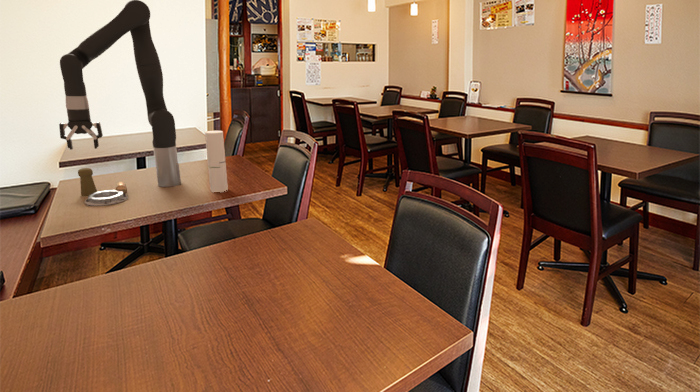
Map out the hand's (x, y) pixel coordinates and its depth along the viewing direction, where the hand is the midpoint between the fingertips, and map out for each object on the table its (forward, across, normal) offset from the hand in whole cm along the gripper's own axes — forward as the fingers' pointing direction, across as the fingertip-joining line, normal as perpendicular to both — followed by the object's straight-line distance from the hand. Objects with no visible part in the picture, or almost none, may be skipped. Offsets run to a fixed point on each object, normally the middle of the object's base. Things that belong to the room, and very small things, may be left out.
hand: (83, 148), depth 174 cm
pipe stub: (+19, -12, +2) cm, 22 cm away
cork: (+19, 0, 0) cm, 19 cm away
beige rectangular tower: (+18, -50, +14) cm, 55 cm away
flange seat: (+19, -7, +11) cm, 23 cm away
